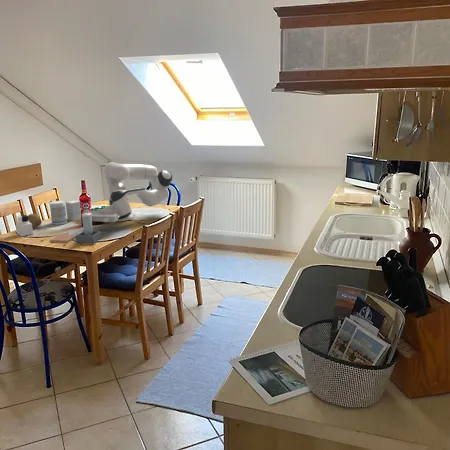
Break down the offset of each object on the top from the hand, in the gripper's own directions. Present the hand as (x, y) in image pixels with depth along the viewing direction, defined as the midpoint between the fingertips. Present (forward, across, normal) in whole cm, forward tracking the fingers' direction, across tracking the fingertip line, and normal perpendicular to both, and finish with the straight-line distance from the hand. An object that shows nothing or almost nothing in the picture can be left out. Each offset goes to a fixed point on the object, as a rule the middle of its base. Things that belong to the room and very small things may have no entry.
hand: (96, 220), depth 265 cm
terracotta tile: (+11, +17, -9) cm, 22 cm away
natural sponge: (-9, +48, -9) cm, 49 cm away
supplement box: (-35, +32, -9) cm, 49 cm away
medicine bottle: (+4, +46, -9) cm, 47 cm away
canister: (+11, +1, -9) cm, 14 cm away
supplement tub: (-23, +38, -9) cm, 45 cm away
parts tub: (+11, +1, -9) cm, 14 cm away
